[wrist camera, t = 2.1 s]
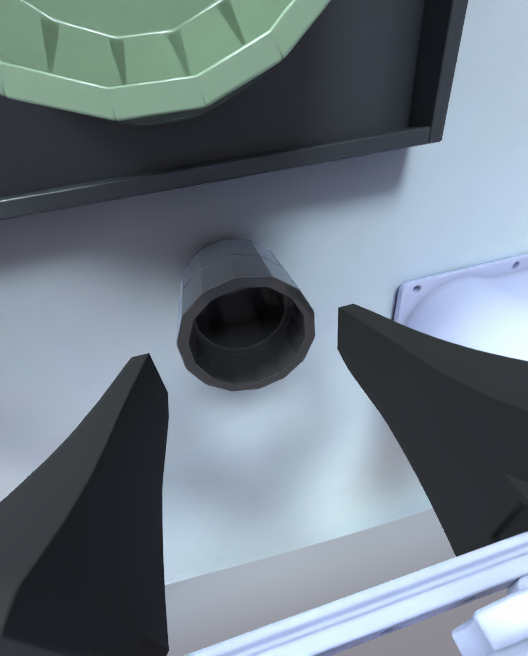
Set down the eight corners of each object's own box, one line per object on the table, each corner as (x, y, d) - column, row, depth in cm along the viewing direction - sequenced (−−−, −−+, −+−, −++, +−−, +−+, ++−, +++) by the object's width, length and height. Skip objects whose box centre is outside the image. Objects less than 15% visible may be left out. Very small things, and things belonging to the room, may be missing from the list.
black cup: (276, 225, 14) (312, 260, 10) (286, 318, 17) (316, 373, 13) (165, 247, 14) (156, 294, 9) (196, 340, 17) (200, 404, 13)
